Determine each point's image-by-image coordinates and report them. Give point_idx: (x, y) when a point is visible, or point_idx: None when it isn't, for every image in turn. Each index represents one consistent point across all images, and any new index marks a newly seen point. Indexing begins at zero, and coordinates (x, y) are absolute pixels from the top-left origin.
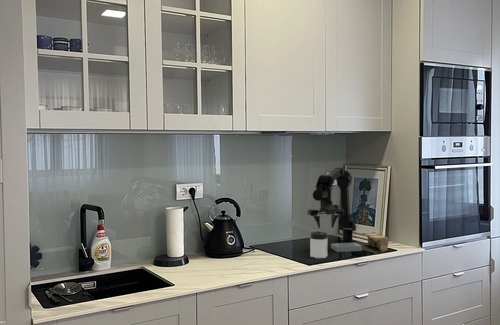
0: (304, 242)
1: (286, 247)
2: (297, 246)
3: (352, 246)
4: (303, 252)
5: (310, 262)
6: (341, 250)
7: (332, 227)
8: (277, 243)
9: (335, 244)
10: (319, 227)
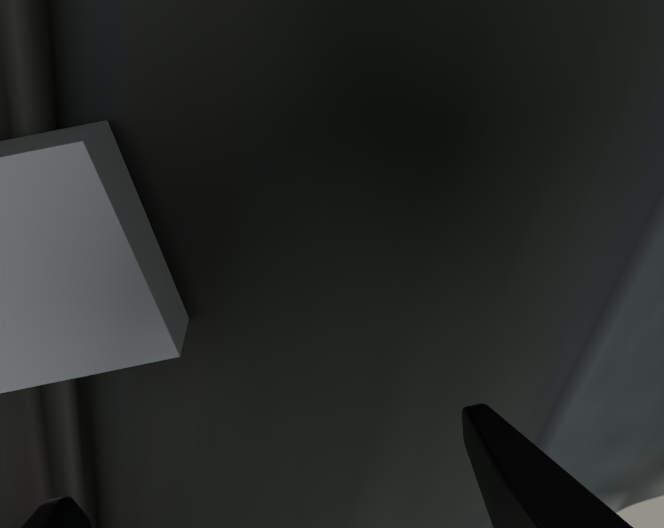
0: (420, 501)
1: (655, 334)
2: (533, 375)
3: None
4: (585, 95)
5: None
6: (31, 138)
7: (57, 503)
8: (654, 456)
9: (118, 317)
10: (483, 422)
